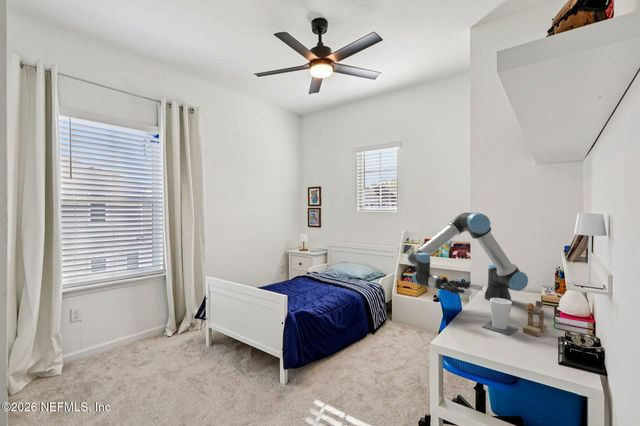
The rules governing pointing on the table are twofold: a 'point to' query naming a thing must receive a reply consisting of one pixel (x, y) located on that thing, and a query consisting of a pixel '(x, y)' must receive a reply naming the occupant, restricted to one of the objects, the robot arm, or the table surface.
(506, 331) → the mat
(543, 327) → the catapult
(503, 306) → the foam cup
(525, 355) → the table surface
